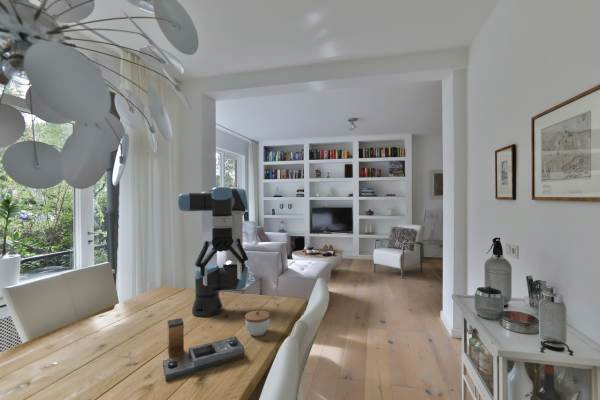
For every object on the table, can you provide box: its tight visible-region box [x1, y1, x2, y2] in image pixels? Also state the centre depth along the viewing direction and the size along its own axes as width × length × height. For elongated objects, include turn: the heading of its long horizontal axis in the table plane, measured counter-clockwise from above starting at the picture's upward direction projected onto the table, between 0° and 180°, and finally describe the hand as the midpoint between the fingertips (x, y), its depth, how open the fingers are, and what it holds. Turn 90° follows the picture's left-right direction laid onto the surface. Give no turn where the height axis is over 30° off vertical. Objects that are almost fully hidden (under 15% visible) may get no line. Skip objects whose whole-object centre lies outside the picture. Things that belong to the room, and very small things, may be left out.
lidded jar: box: [244, 310, 271, 337], centre depth 127 cm, size 11×11×9 cm
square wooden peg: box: [166, 317, 185, 359], centre depth 111 cm, size 5×5×12 cm
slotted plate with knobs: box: [162, 336, 245, 382], centre depth 105 cm, size 10×26×5 cm, turn 120°
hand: (222, 281), depth 114 cm, fingers open, 13 cm apart
